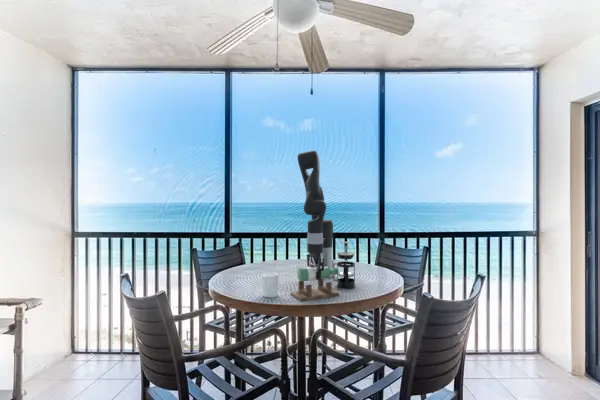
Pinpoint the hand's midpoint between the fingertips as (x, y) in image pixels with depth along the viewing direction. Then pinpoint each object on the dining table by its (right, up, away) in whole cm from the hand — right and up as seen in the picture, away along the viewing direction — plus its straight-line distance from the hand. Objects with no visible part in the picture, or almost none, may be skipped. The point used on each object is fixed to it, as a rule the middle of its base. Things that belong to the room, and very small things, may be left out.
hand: (315, 277), depth 155 cm
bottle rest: (0, -8, 0) cm, 8 cm away
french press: (+16, -8, +15) cm, 23 cm away
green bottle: (+2, -1, +1) cm, 2 cm away
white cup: (-21, -8, 0) cm, 23 cm away
